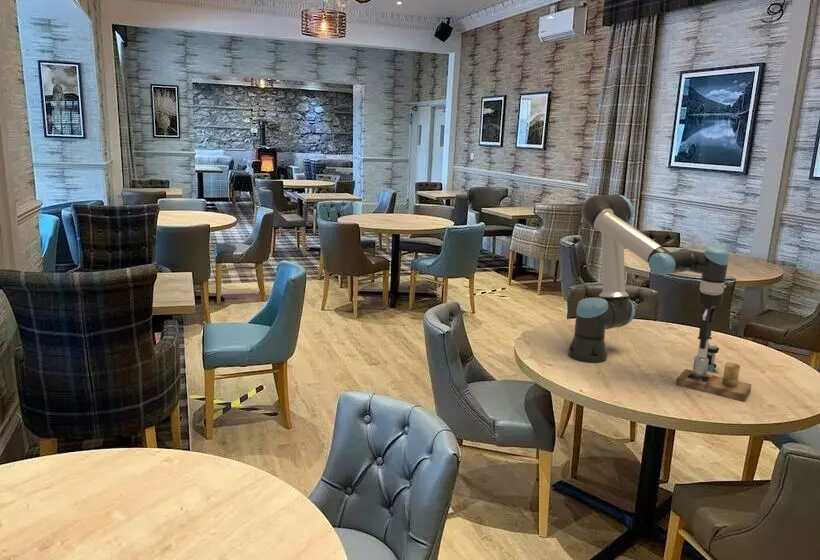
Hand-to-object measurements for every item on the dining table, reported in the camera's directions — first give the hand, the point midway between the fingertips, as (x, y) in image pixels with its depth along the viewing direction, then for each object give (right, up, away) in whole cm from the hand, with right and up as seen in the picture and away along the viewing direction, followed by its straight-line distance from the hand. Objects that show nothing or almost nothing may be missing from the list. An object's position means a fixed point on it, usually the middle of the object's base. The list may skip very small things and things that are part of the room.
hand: (701, 356), depth 215 cm
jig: (+4, -11, -1) cm, 12 cm away
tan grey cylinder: (0, -10, +2) cm, 11 cm away
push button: (+11, -8, +17) cm, 22 cm away
